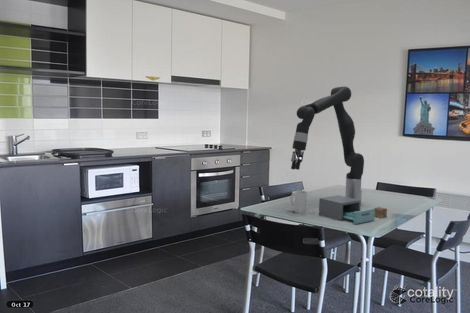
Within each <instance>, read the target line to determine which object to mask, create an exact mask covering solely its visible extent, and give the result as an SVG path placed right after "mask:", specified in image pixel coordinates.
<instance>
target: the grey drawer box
mask: <svg viewBox="0 0 470 313" xmlns="http://www.w3.org/2000/svg"><path fill="white" fill-rule="evenodd" d="M318 201H319V205H318V206H319V207H318V208H319V209H318V216H323V217H325V216H326V218H329V217H330V218H329V219H333V220H336V219H337V221H341V222H342V221H346V220H348V219H346V218H343V212H348V211H350V212H355V211H361V205H362V199H361V200H358V199H353V198H349V197H345V196H343V195H339V194H337V195H333V196H332V195H331V196H325V197H319V200H318Z"/></svg>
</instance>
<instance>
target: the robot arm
mask: <svg viewBox="0 0 470 313" xmlns="http://www.w3.org/2000/svg"><path fill="white" fill-rule="evenodd" d="M351 97H352V90H351V89H350V88H349V86H338V87H334V88H332V89H331V90H330V95H328V96H325V97H322V98H319V99H316V100H315V101H313V102H311V103H308V104H306V105H305V104H304V105H302V106H300V107H299V108H298V109H297V110H296V117H297V118H298V119H300V120H302V121H301V122H298V123H297V125H296V130H295V133H294V137H293V141H292V148H291V149H293V151H292V156H291V159H290V162H291V167H290V169H291V170H300V167H301V163H302V162H303V159H304V153H305V151H306V148H307V143H308V137H309V130H310V127H311V125H312V122H313V120H314V118H315V116H316V115H317V114H320V113H322V112H323V111H325V110H327V109H329V108H331V107H333V109H334V112H335V116H336V120H337V125H338V130H339V134H340V138H341V144H342V148H343V150H342V151H343V157H344V158H343V159H344V164H346V166H347V167H349V168H350V171H349V172H347V173H346V176H345V178H346V180H345V196H344V197H349V198H353V199H358V200H361V201H362V194H363V193H362V191H363V190H362V176H363V175H364V166H365V158H364V156H363V155H362V154H361V153H357V152H355V147H354V140H355V136H356V128H355V123H354V121H353V118H352V117H351V115H350V114H349V113H348V112H347V110H346V109H345V107H344V106H345V105H344V103H345V102H348V101H349V100H350V99H351Z"/></svg>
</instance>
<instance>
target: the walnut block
mask: <svg viewBox="0 0 470 313" xmlns="http://www.w3.org/2000/svg"><path fill="white" fill-rule="evenodd" d="M373 209H375V218H379V219H385V218H388V215H387V214H388V208H387V207H386V208H385V207H381V206H379V207H374V208H373Z"/></svg>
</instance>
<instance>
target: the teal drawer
mask: <svg viewBox="0 0 470 313" xmlns="http://www.w3.org/2000/svg"><path fill="white" fill-rule="evenodd" d="M343 218H346V219H347V220H351V221H353V224H354V225H358V224H363V223H367V222H371V221H375V218H376V217H375V209H374V208H369V209H363V210H360V211H355V212H350V211H348V212H343Z"/></svg>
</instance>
